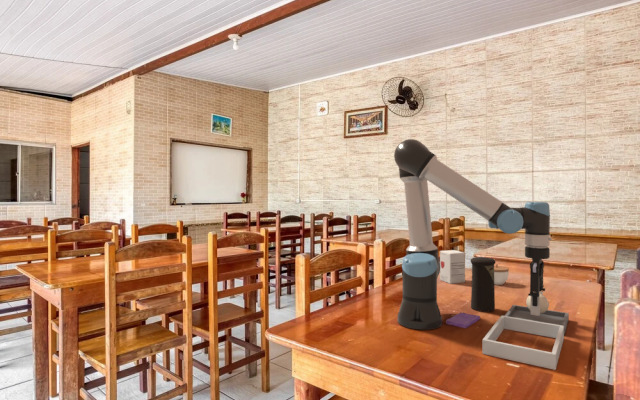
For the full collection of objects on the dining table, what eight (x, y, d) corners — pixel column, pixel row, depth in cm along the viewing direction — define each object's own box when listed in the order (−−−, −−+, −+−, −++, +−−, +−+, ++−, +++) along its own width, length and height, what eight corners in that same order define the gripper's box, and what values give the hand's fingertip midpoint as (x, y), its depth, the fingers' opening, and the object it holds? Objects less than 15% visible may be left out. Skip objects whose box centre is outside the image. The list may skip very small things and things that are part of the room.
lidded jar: (479, 282, 199) (479, 263, 198) (495, 279, 203) (495, 261, 203) (497, 287, 189) (497, 267, 188) (513, 284, 193) (513, 265, 193)
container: (497, 312, 150) (497, 259, 150) (472, 311, 152) (472, 259, 152) (492, 306, 159) (492, 255, 158) (468, 305, 161) (468, 255, 160)
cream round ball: (540, 309, 143) (540, 290, 143) (552, 315, 136) (552, 296, 136) (521, 309, 143) (521, 291, 143) (533, 316, 136) (533, 296, 136)
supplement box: (439, 279, 204) (439, 250, 204) (454, 278, 207) (454, 249, 206) (450, 284, 195) (450, 253, 195) (465, 282, 198) (465, 252, 198)
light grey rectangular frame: (555, 370, 104) (555, 354, 103) (482, 353, 114) (482, 339, 114) (563, 338, 125) (563, 325, 125) (501, 327, 135) (501, 315, 135)
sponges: (446, 325, 139) (446, 319, 139) (461, 316, 148) (461, 311, 148) (466, 329, 134) (466, 324, 134) (480, 320, 144) (480, 315, 144)
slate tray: (564, 335, 127) (564, 327, 127) (503, 324, 138) (503, 317, 138) (568, 320, 142) (568, 313, 142) (512, 311, 152) (512, 304, 152)
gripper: (546, 251, 129) (545, 322, 129) (552, 243, 145) (552, 306, 146) (520, 249, 133) (519, 317, 134) (529, 242, 149) (529, 303, 150)
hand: (536, 311), depth 140 cm, fingers closed on cream round ball, 7 cm apart
